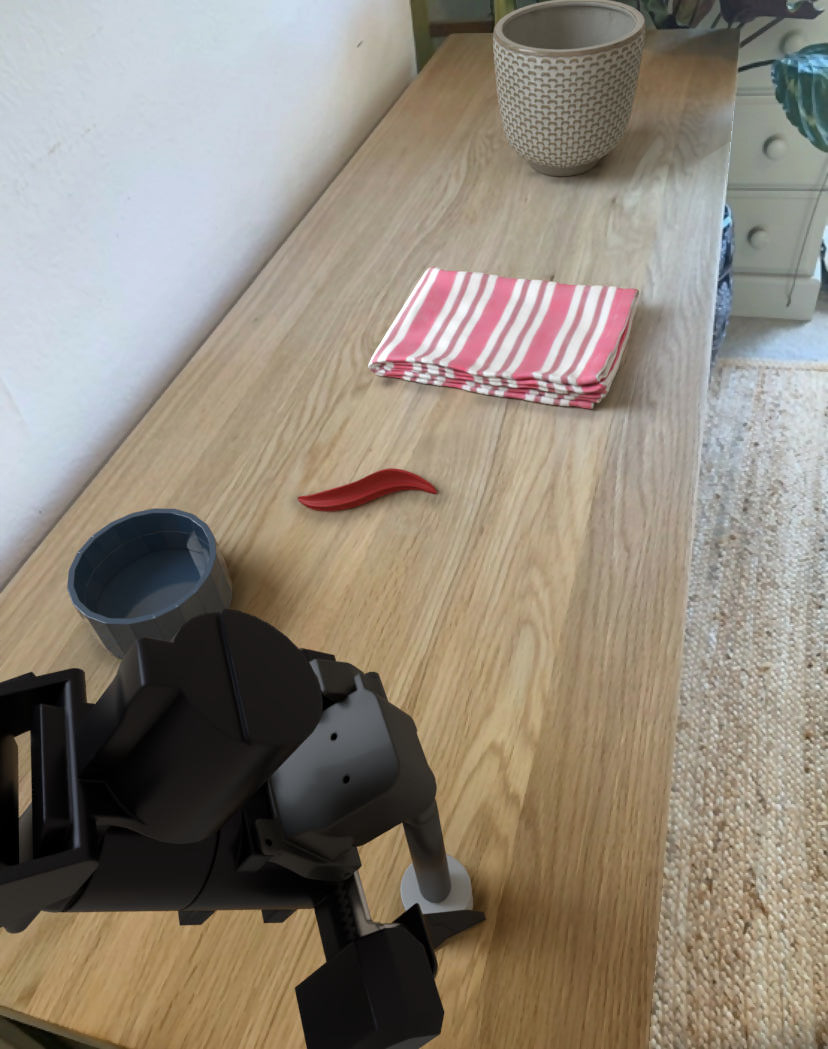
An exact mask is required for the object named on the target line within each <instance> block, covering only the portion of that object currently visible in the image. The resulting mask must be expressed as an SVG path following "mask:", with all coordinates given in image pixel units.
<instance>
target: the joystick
mask: <svg viewBox="0 0 828 1049" xmlns="http://www.w3.org/2000/svg"><path fill="white" fill-rule="evenodd" d="M401 824H402V829H403V831H404V836H405V839H406V843H407V847H408V850H409V854H410V859H411V863H410V865H409V866H408V867H407V868H406V869H405V871H404V873H403V876H402V878H401V881H400V889H399V890H400V899H401V902H402V905H403V909H404V912H405V911H406V910H408V909H409V908H410V907H411V906H413V905H414V904H415V903H418V904H419V905H420V908H421V911H422V914H428V913H437V912H447V911H456V910H466V909H468V910H474V897H473V896H474V895H473V889H472V888H473V887H472V882H471V878H470V875H469V872H468V871H467V869H466V867H465V866H464V864H463V863H461V862H460V861H459V860H458V859H456V858H455V857H453V856H452V855H449V854H447V852H446V846H445V842H444V834H443V830H442V824H441V819H440V813H439V806H438V802H437V798H435V799H434V801H433V803H432V805H431V806H430V807H429V808H428V809H427V810H426V811H425V812H424V813H422V814H420V815H419V816H417V817H415V818H410V819H408V820H406V821H404V822H402V823H401Z"/></svg>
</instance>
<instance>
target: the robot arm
mask: <svg viewBox="0 0 828 1049" xmlns="http://www.w3.org/2000/svg"><path fill="white" fill-rule="evenodd" d="M117 668H118V669H117V672H116V674H115V676H114V678H113V679H112V681H111V682H110V683H109V685H108V686H107V687H106V689H105V690H104V691H103V693H102V694H101V695H100V696H99V698H98V699H97V701H96V702H95V703H92V702H88V695H87V682H86V672H85V671H84V670H83V669H81V668H79V667H72V668H71V667H70V668H67V669H62V670H57V671H53V672H48V673H44V674H40V675H36V674H35V673H34V672H33V671H29V672H27V673H23V674H20V675H18V676H15V677H11V678H10V679H5V680H3V681H1V682H0V929H1V928H4V930H5V931H6V932H7V933H9V934H13V935H14V934H20V933H23V932H24V931H26V929H28V927H29V926H30V925H31V924H32V923H33V921H34V920H35V919H36V918H37V917H38V915H40V913H41V912H46V913H53V914H58V913H121V912H122V913H124V912H125V913H127V912H128V913H129V912H132V913H133V912H136V913H137V912H177V915H178V923H179V927H181V926H202V925H203V924H204V923H205V922H206V921H207V920H209V918H210V917H211V916H212V915H214V914H215V913H216V912H217V911H261V916H262V922H263V924H283V923H284V922H286V921H287V920H288V919H289V918H290V917H291V916H292V915H293V914H294V913H296V911H298V910H313V911H314V914H315V919H316V923H317V928H318V932H319V937H320V941H321V945H322V949H323V955H324V959H325V962H324V963H323V964H322V965H321V966H319V967H318V968H317V969H316V970H314V971H313V972H312V973H310V975H308V976H307V977H306V978H304V980H302V981H301V982H300V983H298V985H296V986H294V992H295V997H296V1002H297V1008H298V1012H299V1017H300V1022H301V1028H302V1032H303V1036H304V1041H305V1046H306V1049H421V1048H422V1047H424V1046H426V1045H427V1044H428V1043H430V1042H431V1041H434V1039H436V1038H437V1037H438V1036H440V1035H441V1033H442V1029H443V1022H444V1018H445V1014H446V1013H445V1012H446V1011H445V1008H444V1005H443V1003H442V1000H441V996H440V993H439V990H438V986H437V983H436V980H435V979H436V977H437V974H438V971H439V969H438V968H439V964H438V959H437V956H436V953H437V952H438V951H440V950H442V949H443V948H445V947H447V946H448V945H450V944H452V943H454V942H455V941H457V940H458V939H460V938H461V937H463V936H465V935H467V934H468V933H470V932H472V931H473V930H474V929H476V928H477V927H479V926H480V925H481V924H483V923H484V922H486V921H487V917H486V913H485V912H484V911H482V910H476V909H473V910H468V909H466V910H456V911H447V912H437V913H428V914H422V911H421V908H420V905H419V904H418V903H415V904H414V905H413V906H411V907H410V908H409V909H408V910H406V911H405V910H404V912H403V913H401V914H400V915H399V916H398V917H396V918H395V919H394V920H393V921H392V922H383V923H381V922H380V921H374V920H373V919H372V915H371V912H370V908H369V905H368V901H367V898H366V893H365V891H364V890H365V889H364V887H363V886H364V885H363V883H362V880H361V876H360V872H359V869H360V868H362V867H363V864H362V861H361V857H360V853H359V850H358V848H359V847H362V846H364V845H366V844H369V843H371V842H372V841H373V840H375V839H376V838H378V837H380V836H382V835H384V834H385V833H387V832H389V831H390V830H392V829H394V828H396V827H397V826H399V825H401V824H402V822H404V821H406V820H408V819H410V818H415V817H417V816H419V815H420V814H422V813H424V812H425V811H426V810H427V809H428V808H429V807H430V806H431V805H432V803H433V801H434V799H436V797H437V788H438V785H437V780H436V776H435V773H434V772H433V770H432V769H431V767H430V765H429V764H428V759H427V758H426V755H425V752H424V749H423V747H422V743H421V741H420V738H419V735H418V728H417V724H416V723H415V720H414V718H412V716H411V715H410V714H408V713H407V712H406V711H404V710H402V709H400V708H399V707H398V706H396V705H395V704H393V703H392V702H390V701H389V699H388V696H387V693H386V691H385V688H384V684H383V682H382V680H381V675H380V673H379V672H377V671H367V672H364V671H363V670H361V669H360V668H358V667H357V666H356V665H353V664H352V663H350V662H346V661H338V660H337V659H336V655H335V654H331V653H327V652H323V651H319V650H313V649H309V648H305V647H298V646H297V645H296V644H295V643H294V641H292V640H291V639H290V638H289V637H288V636H287V635H286V634H284V633H283V632H282V631H280V630H279V629H278V628H276V627H275V626H274V625H272V624H270V623H268V622H267V621H265V620H264V619H261V618H259V617H257V616H256V615H253V614H250V613H247V612H244V611H242V610H236V609H232V608H229V609H223V610H222V612H213V613H204V614H201V615H199V616H196V617H193V618H191V619H190V620H189V621H188V622H186V623H185V624H184V625H183V626H182V627H181V628H180V629H179V630H178V632H177V633H176V634H175V636H174V637H173V638H172V639H171V641H164V640H159V639H154V638H149V637H143V638H140V639H137V640H136V641H135V643H134V644H133V645H132V647H131V648H130V649H129V651H128V652H127V653H126V655H125V656H124V658H123V659H121V661H120V662H119V665H118V667H117ZM28 732H29V733H30V734H29V735H30V736H29V737H30V741H29V742H30V780H31V781H30V782H31V783H30V784H31V802H30V803H29V804H28V806H27V807H26V808H25V810H24V811H23V812H22V814H21V815H20V799H19V798H20V794H19V793H20V791H19V790H20V789H19V781H20V780H19V745H18V743H17V741H16V739H15V738H18V736H21V735H23V734H25V733H28Z"/></svg>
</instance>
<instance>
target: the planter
mask: <svg viewBox="0 0 828 1049" xmlns="http://www.w3.org/2000/svg"><path fill="white" fill-rule="evenodd" d="M645 36H646V19H645V17H644V15H643V14H642V13H641V12H640V11H639V10H638V9H636V8H635V7H634V6H631V5H629V4H626V3H623V2H620V1H615V0H545V1H542V2H536V3H532V4H529V5H526V6H523V7H520V8H517V9H515V10H513V11H510V12H509V13H507V14H506V15H503V17H502V18H500V19H499V20H498V21H497V22H496V24H494V28H493V34H492V47H493V48H492V49H493V52H492V53H493V63H494V72H495V73H494V74H495V86H496V95H497V102H498V103H497V104H498V110H499V117H500V122H501V127H502V131H503V134H504V137H505V139H506V142H507V144H508V145H509V147H510V148H511V149H512V150H513V151H514V152H515V154H517V155H518V156H519V157H521V158H522V159H523V160H526V161H527V162H528V164H529V166H530V167H531V168H532V169H533V170H535V171H536V172H537V173H539V174H542V175H546V176H550V177H571V176H576V175H580V174H583V173H586V172H588V171H590V170H592V169H593V168H594V167H595V166H596V165H597V164H598V162H600V159H601V158H603V157H604V156H606V155H608V154H609V153H610V152H612V151H613V150H614V149H615V148H616V147H617V146H618V145H619V144H620V142H621V141H622V139H623V138H624V136H625V133H626V131H627V128H628V125H629V123H630V120H631V116H632V112H633V107H634V103H635V97H636V94H637V89H638V83H639V78H640V72H641V66H642V59H643V52H644V45H645V39H646V37H645Z"/></svg>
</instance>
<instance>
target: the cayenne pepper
mask: <svg viewBox="0 0 828 1049" xmlns="http://www.w3.org/2000/svg"><path fill="white" fill-rule="evenodd" d="M409 490H412V491H413V490H414V491H415V490H416V491H421V492H426V493H429V494H433V495H438V492H437V489H436V488H435V486H434V485H433V484H432V483H431V482H429V481H428V480H426V478H424V477H422V476H420V475H419V474H416V473H414V472H412V471H408V470H405V469H401V468H395V467H394V468H390V467H389V468H383V469H380V470H378V471H375V472H373V473H371V474H368V475H366V476H364V477H362V478H360V479H358V480H356V481H352V482H350V483H347V484H343V485H341V486H337V487H334V488H330V489H326V490H323V491H319V492H316V493H312V494H308V495H300V496H297V500H298V502H299V503H300V504H301V505H303V506H305V507H307V508H309V509H311V510H314V511H320V512H338V511H344V510H349V509H352V508H356V507H359V506H362V505H364V504H366V503H370V502H372V501H374V500H376V499H379V498H381V497H385V496H387V495H390V494H393V493H397V492H402V491H409Z"/></svg>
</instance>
